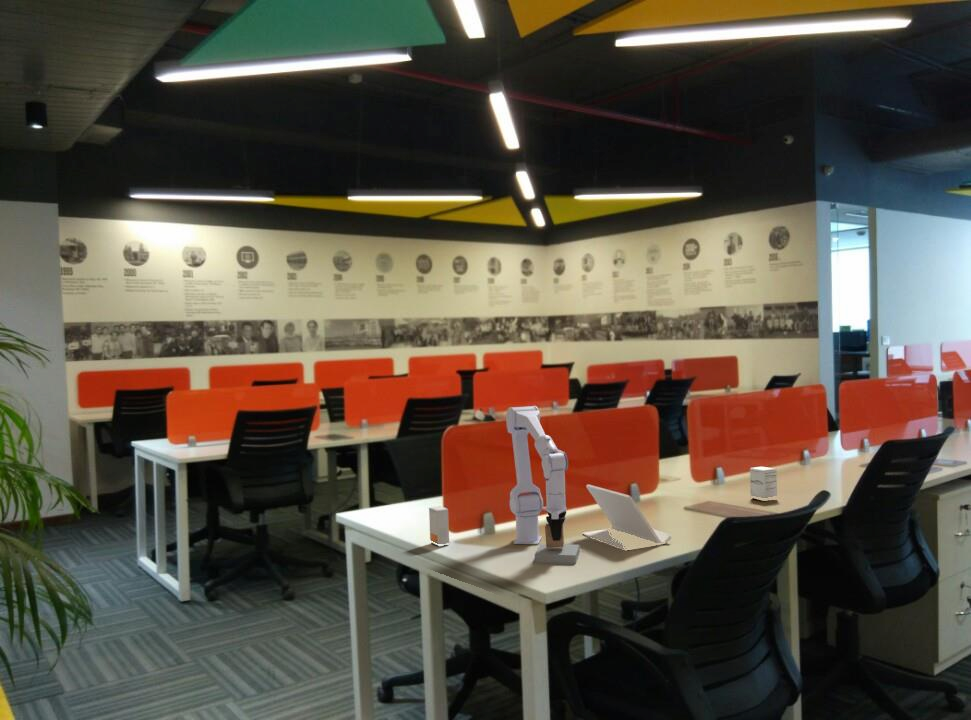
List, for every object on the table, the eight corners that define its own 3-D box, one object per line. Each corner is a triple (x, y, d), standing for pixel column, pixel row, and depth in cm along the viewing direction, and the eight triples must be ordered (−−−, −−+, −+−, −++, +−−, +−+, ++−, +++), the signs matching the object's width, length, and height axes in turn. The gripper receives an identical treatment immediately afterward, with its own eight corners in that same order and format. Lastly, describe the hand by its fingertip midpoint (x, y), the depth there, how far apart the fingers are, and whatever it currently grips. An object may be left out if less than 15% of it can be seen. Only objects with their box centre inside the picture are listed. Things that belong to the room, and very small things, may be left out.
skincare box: (429, 543, 250) (428, 507, 250) (441, 541, 252) (440, 505, 252) (438, 547, 245) (436, 510, 245) (449, 545, 247) (448, 508, 247)
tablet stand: (625, 552, 233) (623, 496, 233) (581, 535, 256) (579, 484, 255) (672, 544, 241) (671, 490, 240) (626, 528, 263) (625, 479, 263)
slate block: (540, 553, 236) (540, 543, 236) (579, 554, 233) (579, 544, 233) (534, 564, 224) (534, 554, 224) (575, 565, 221) (575, 555, 221)
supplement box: (749, 499, 303) (748, 467, 303) (763, 497, 307) (762, 465, 306) (764, 502, 297) (763, 470, 296) (778, 500, 300) (777, 468, 300)
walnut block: (547, 543, 232) (546, 523, 231) (563, 543, 231) (562, 523, 231) (546, 547, 227) (544, 527, 226) (563, 547, 226) (561, 527, 226)
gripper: (544, 488, 236) (545, 532, 236) (540, 497, 222) (542, 544, 222) (566, 488, 235) (568, 532, 235) (564, 497, 221) (566, 544, 221)
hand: (557, 538), depth 229 cm, fingers closed on walnut block, 5 cm apart
